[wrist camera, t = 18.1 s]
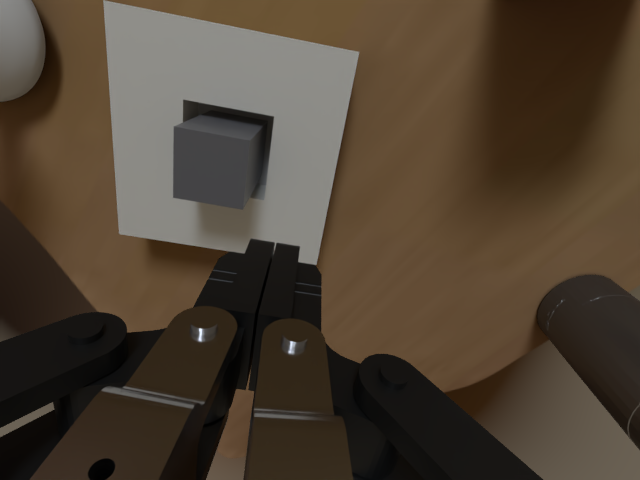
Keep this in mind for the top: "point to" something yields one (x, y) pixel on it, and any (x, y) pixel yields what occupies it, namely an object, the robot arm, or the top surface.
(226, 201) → the plug
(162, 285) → the top surface
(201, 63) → the socket
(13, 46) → the flower in vase
